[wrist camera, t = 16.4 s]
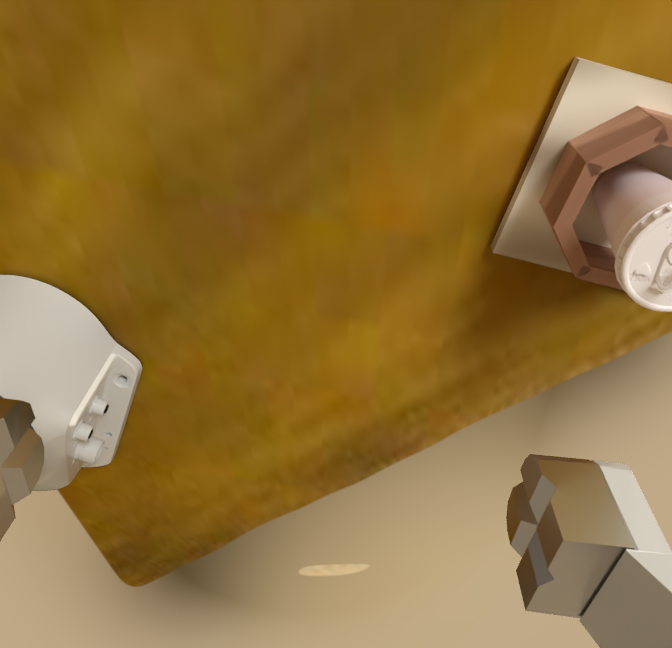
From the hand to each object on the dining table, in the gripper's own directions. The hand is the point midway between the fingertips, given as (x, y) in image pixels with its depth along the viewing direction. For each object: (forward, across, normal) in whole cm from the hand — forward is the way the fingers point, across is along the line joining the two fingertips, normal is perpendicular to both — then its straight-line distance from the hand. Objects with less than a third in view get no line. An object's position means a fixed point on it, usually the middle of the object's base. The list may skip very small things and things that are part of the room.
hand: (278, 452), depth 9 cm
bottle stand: (+30, -19, +5) cm, 36 cm away
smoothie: (+30, -18, +5) cm, 35 cm away
